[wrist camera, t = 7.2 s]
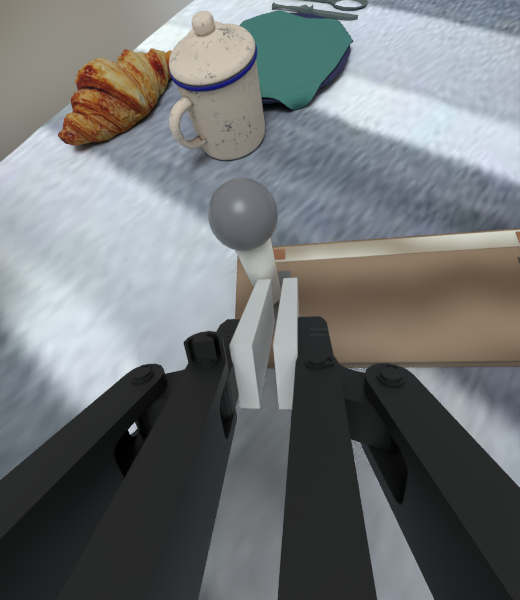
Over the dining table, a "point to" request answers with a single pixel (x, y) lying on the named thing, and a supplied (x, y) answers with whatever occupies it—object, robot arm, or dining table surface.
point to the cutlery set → (299, 51)
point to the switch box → (408, 298)
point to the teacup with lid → (218, 89)
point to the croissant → (115, 95)
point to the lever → (247, 227)
